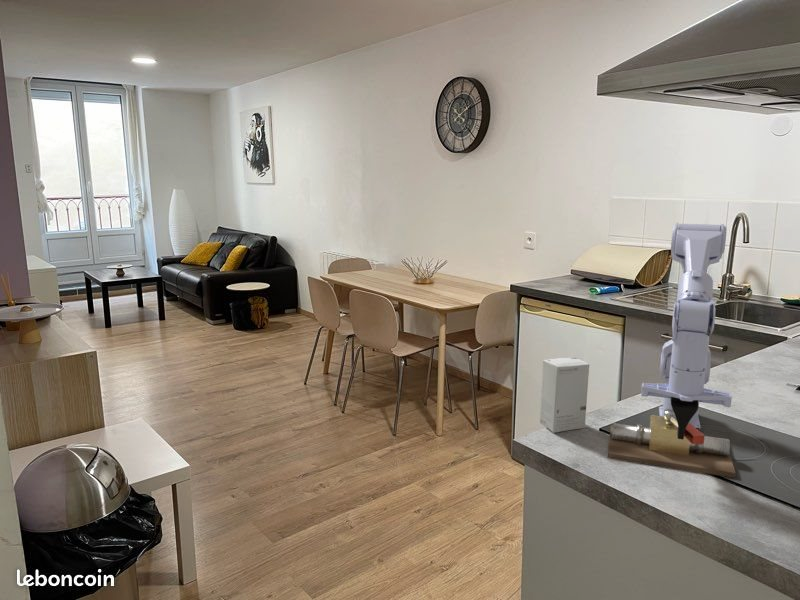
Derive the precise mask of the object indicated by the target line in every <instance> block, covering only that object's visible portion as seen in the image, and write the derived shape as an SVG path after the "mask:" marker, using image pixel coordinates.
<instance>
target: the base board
mask: <svg viewBox="0 0 800 600" xmlns="http://www.w3.org/2000/svg"><path fill="white" fill-rule="evenodd" d="M612 432H613V423H612V424H610V431H609V440H608V446H607V447H608V449H607V458H608V459H615V460H621V461H626V462H627V461H628V462H634V463H640V464H644V465H651V466H656V467H657V466H658V467H663V468H670V469H677V470H682V471H683V470H684V471H689V472H695V473H696V472H697V473H701V474H707V475H708V474H709V475H713V476H714V475H715V476H719V475H722V476H721V477H725V476H727V478H731V477H734V478H733V479H735V478H736V470H735V466H734V464H733V460H732V456H731V454H730V452H729V456H723V455H716V454H709V453H702V454H697V453H696V451H689V456H683V455H677V454H670V453H664V452H657V451H651V450H649V444H642V443H641V445H637V444H636V442H629V441H622V440H616V439H612Z"/></svg>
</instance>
